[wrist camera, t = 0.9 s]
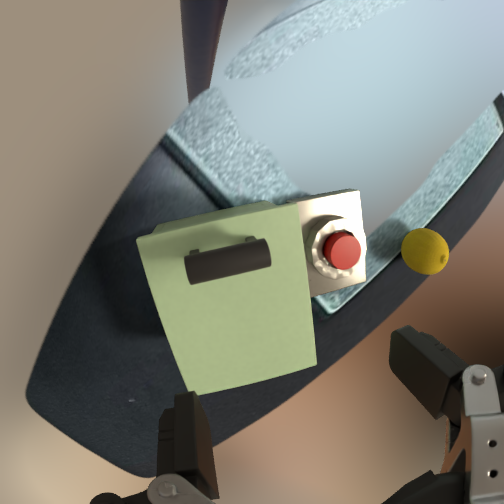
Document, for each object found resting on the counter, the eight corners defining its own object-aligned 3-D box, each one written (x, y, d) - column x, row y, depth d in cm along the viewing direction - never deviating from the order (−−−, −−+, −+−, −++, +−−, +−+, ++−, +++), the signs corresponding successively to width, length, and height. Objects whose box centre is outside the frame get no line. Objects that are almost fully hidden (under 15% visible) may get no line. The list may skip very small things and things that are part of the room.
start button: (321, 235, 30) (328, 239, 28) (352, 228, 31) (360, 232, 29) (325, 268, 31) (332, 273, 30) (354, 260, 32) (362, 265, 30)
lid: (137, 237, 21) (121, 256, 16) (294, 202, 22) (320, 211, 17) (190, 391, 25) (191, 430, 20) (314, 360, 26) (334, 393, 22)
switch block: (285, 200, 32) (297, 204, 28) (350, 188, 33) (367, 191, 29) (299, 291, 35) (310, 306, 32) (357, 275, 36) (373, 286, 33)
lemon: (383, 243, 36) (422, 261, 28) (409, 214, 36) (450, 226, 28) (401, 270, 38) (438, 292, 30) (425, 243, 37) (464, 259, 30)
